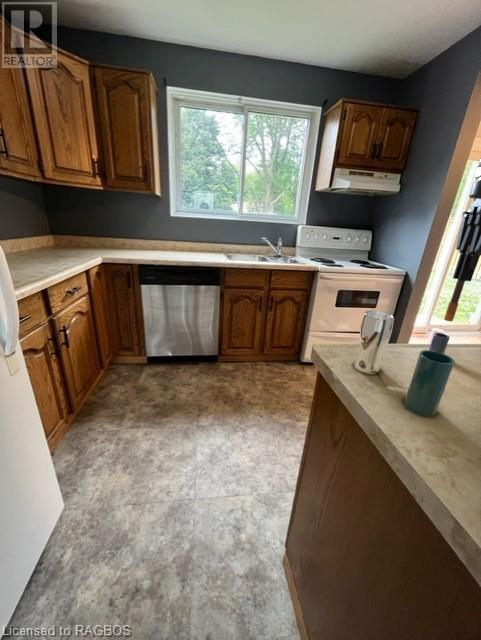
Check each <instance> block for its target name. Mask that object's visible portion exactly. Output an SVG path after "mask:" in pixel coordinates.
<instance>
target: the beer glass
mask: <svg viewBox="0 0 481 640" xmlns="http://www.w3.org/2000/svg"><path fill="white" fill-rule="evenodd" d="M394 321H395V316H394V315H393V314H391V313H388V312H385V311H381V310H380V311H379V310H366V311H364V315H363V318H362V321H361V324H360V328H359V337H358V341H359V342H358V355H357V358H356V360H355V362H354V368H355V370H357V371H358V372H361V373H363V374H366V375H377V374H379V372H380V370H381V369H380V368H381V366H380V365H381V359H382V356H383V355H384V353H385V350H386V348H387V347H388V344H389V342H390V339H391V336H392V332H393V327H394V323H395V322H394Z"/></svg>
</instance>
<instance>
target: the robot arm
mask: <svg viewBox="0 0 481 640" xmlns="http://www.w3.org/2000/svg"><path fill="white" fill-rule="evenodd" d="M474 178H475V179H476V180H474V182H473V183H472V185H471V188H470V192H469V196H468V197H469V198H470V199H473V202H472V204H471V205H470V208H469V210H466V211H463V212H462V213H461V223H460V228H459V233H458V238H457V242H456V247H455V249H456V251H458V252H459V257H458V260H457V264H456V267H455V270H454V273H453V277H452V279H453V280H459V281H465V282H472V278H473V276H474V274H475V271H476V268H477V265H478V263H479V261H480V260H479V259H480V257H481V159H479V163H477V170H476V173H475V176H474ZM469 245H471V247H470V251H469V252H467V249H468V246H469ZM464 258H465V259H464Z"/></svg>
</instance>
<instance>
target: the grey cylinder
mask: <svg viewBox="0 0 481 640" xmlns="http://www.w3.org/2000/svg"><path fill="white" fill-rule="evenodd" d="M450 339H451V338H450V336H449V335H448V334H445V333H441V332H434V334H433V337H432V340H431V343H430V346H429V349H428V350H430V351H436V352H439V353H443V354H445V352H446V349H447V346H448V344H449V340H450Z"/></svg>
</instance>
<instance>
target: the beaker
mask: <svg viewBox="0 0 481 640" xmlns="http://www.w3.org/2000/svg"><path fill="white" fill-rule="evenodd" d="M455 363H456V361H455V359H454V358H453V357H452V356H449V355H448V354H446V353H444V354H443V353H439V352H436V351H430V350H429V349H427V350H426V349H425V350H421V351H419V354H418V357H417V359H416V363H415V367H414V370H413V373H412V376H411V379H410V383H409V386H408V389H407V392H406V396H405V399H404V405H405V407H406V408H407V409H408V410H409V411H411V412H413V413H415V414H417V415H420V416H423V417H434V416H435V415H436V414H437V412H438V409H439V407H440V404H441V401H442V398H443V395H444V392H445V391H446V388H447V385H448V382H449V380H450V376H451V374H452V371H453V368H454V365H455Z"/></svg>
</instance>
